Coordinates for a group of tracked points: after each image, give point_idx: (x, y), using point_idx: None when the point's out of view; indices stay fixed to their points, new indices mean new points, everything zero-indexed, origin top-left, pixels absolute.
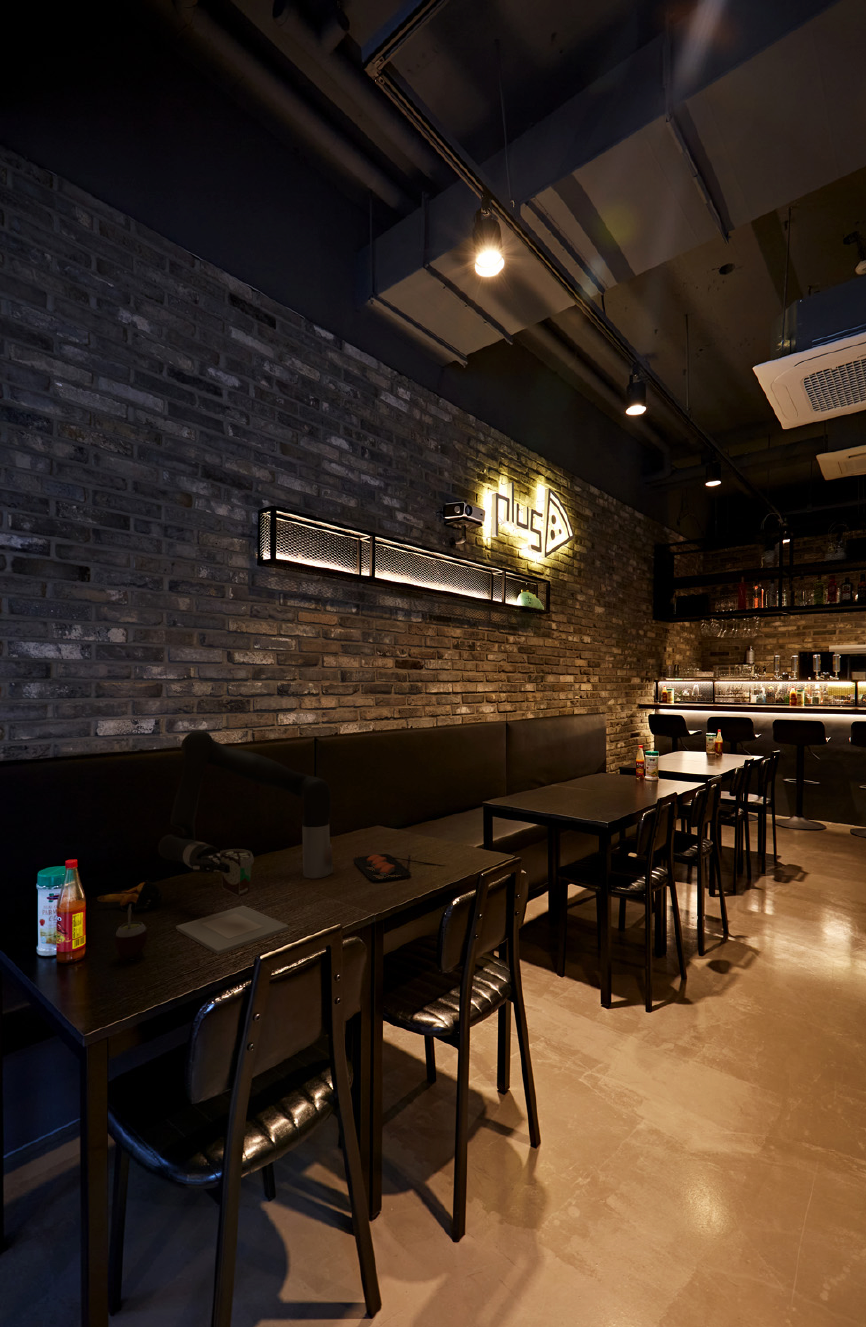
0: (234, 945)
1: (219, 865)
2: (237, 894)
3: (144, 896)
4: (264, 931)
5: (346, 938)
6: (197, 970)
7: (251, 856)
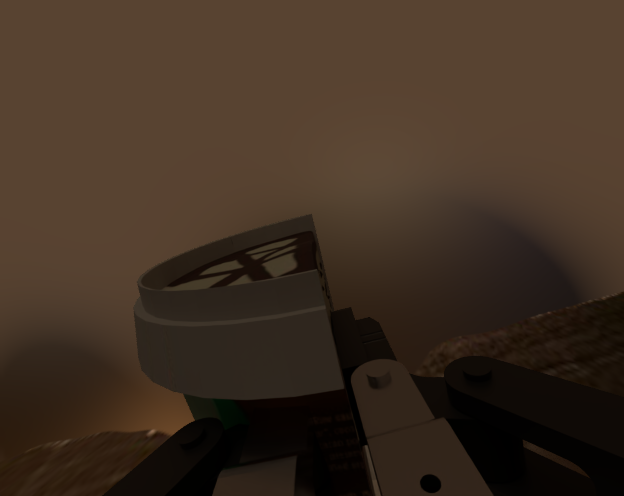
0: None
1: (393, 354)
2: None
3: None
4: None
5: None
6: (539, 366)
7: (223, 248)
